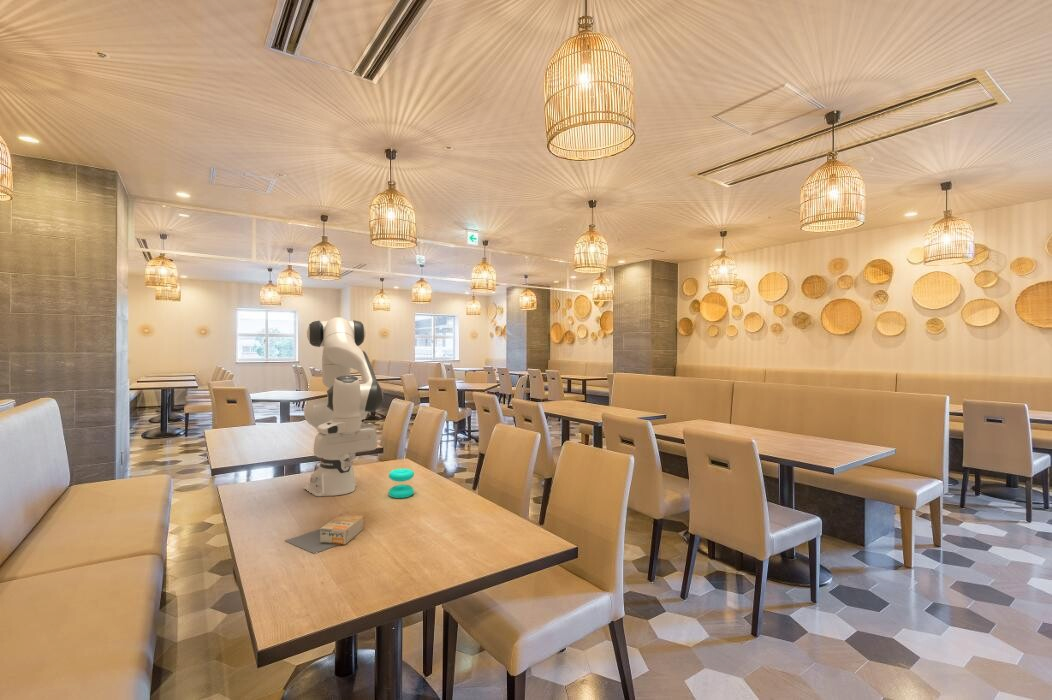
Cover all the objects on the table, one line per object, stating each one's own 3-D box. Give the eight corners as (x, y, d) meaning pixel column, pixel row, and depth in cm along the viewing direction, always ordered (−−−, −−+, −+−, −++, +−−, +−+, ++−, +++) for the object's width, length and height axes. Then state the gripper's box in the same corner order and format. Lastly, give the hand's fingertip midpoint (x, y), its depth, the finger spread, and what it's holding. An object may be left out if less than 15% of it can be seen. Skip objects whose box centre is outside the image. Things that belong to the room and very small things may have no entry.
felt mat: (284, 541, 150) (284, 540, 150) (325, 527, 162) (325, 526, 162) (314, 554, 141) (314, 553, 141) (355, 538, 153) (355, 538, 153)
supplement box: (364, 514, 161) (346, 529, 148) (363, 529, 161) (345, 545, 148) (340, 513, 161) (320, 527, 148) (339, 527, 161) (319, 543, 148)
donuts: (395, 467, 203) (418, 468, 201) (395, 490, 204) (417, 492, 202) (384, 473, 194) (407, 474, 192) (384, 498, 194) (407, 500, 192)
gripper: (372, 420, 170) (371, 460, 170) (311, 427, 156) (311, 470, 156) (380, 423, 165) (380, 463, 165) (319, 430, 151) (318, 474, 151)
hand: (346, 466), depth 160 cm, fingers closed
